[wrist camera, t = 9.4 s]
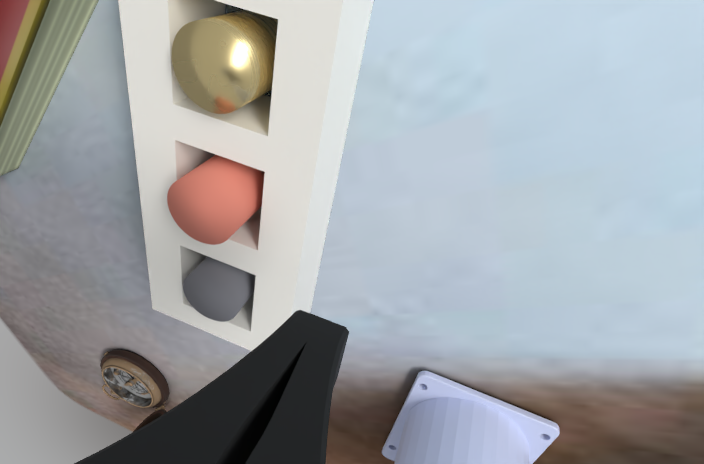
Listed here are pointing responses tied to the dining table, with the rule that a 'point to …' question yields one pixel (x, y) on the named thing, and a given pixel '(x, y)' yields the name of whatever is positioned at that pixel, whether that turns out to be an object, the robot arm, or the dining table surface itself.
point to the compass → (135, 382)
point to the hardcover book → (33, 65)
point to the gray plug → (218, 289)
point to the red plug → (215, 199)
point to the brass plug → (226, 59)
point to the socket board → (245, 152)
